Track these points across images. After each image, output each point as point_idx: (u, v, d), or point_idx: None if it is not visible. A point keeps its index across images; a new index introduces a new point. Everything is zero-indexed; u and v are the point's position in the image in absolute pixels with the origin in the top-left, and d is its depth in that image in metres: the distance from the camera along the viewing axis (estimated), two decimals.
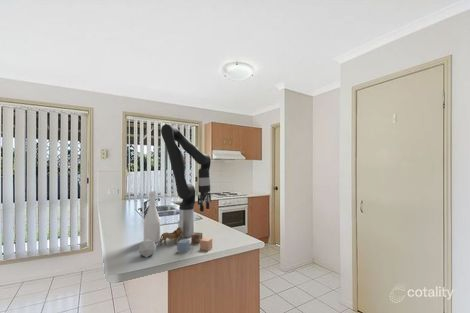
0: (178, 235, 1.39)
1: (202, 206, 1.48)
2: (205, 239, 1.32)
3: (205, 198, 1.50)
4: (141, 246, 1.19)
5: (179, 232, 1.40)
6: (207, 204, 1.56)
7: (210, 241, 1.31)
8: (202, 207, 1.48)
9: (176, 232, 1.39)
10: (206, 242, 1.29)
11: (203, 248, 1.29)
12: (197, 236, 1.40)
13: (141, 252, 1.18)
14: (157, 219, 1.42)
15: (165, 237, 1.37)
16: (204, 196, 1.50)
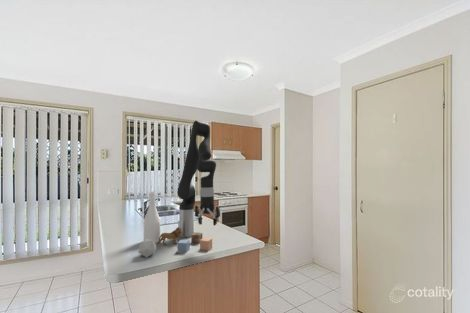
0: (177, 235, 1.39)
1: None
2: (205, 239, 1.32)
3: None
4: (141, 246, 1.19)
5: (178, 232, 1.40)
6: (201, 219, 1.34)
7: (210, 241, 1.31)
8: None
9: (175, 232, 1.39)
10: (206, 242, 1.29)
11: (203, 248, 1.29)
12: (197, 236, 1.40)
13: (141, 252, 1.18)
14: (157, 219, 1.42)
15: (164, 237, 1.37)
16: None
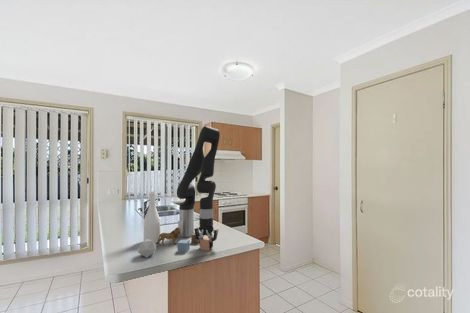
0: (176, 235, 1.39)
1: None
2: (205, 239, 1.32)
3: None
4: (141, 246, 1.19)
5: (177, 232, 1.39)
6: None
7: None
8: None
9: (174, 232, 1.39)
10: (206, 242, 1.29)
11: (203, 248, 1.29)
12: None
13: (141, 252, 1.18)
14: (157, 219, 1.42)
15: (163, 237, 1.37)
16: None
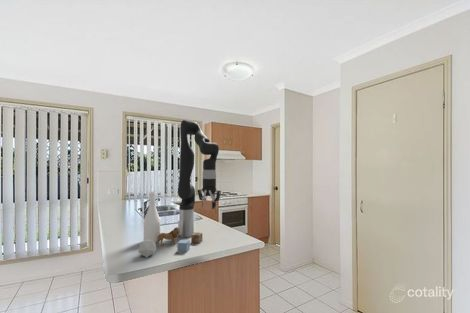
0: (175, 235, 1.38)
1: None
2: (208, 200, 1.34)
3: None
4: (141, 246, 1.19)
5: (176, 232, 1.39)
6: None
7: None
8: None
9: (173, 232, 1.38)
10: (209, 202, 1.31)
11: (206, 208, 1.31)
12: (197, 236, 1.40)
13: (141, 252, 1.18)
14: (157, 219, 1.42)
15: (162, 237, 1.37)
16: None
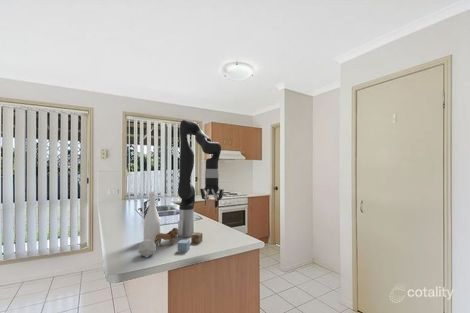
0: (173, 236, 1.38)
1: None
2: (211, 198, 1.35)
3: None
4: (141, 246, 1.19)
5: (174, 233, 1.38)
6: None
7: None
8: None
9: (171, 233, 1.38)
10: (212, 201, 1.32)
11: (209, 207, 1.32)
12: (197, 236, 1.40)
13: (141, 252, 1.18)
14: (157, 219, 1.42)
15: (160, 238, 1.36)
16: None
